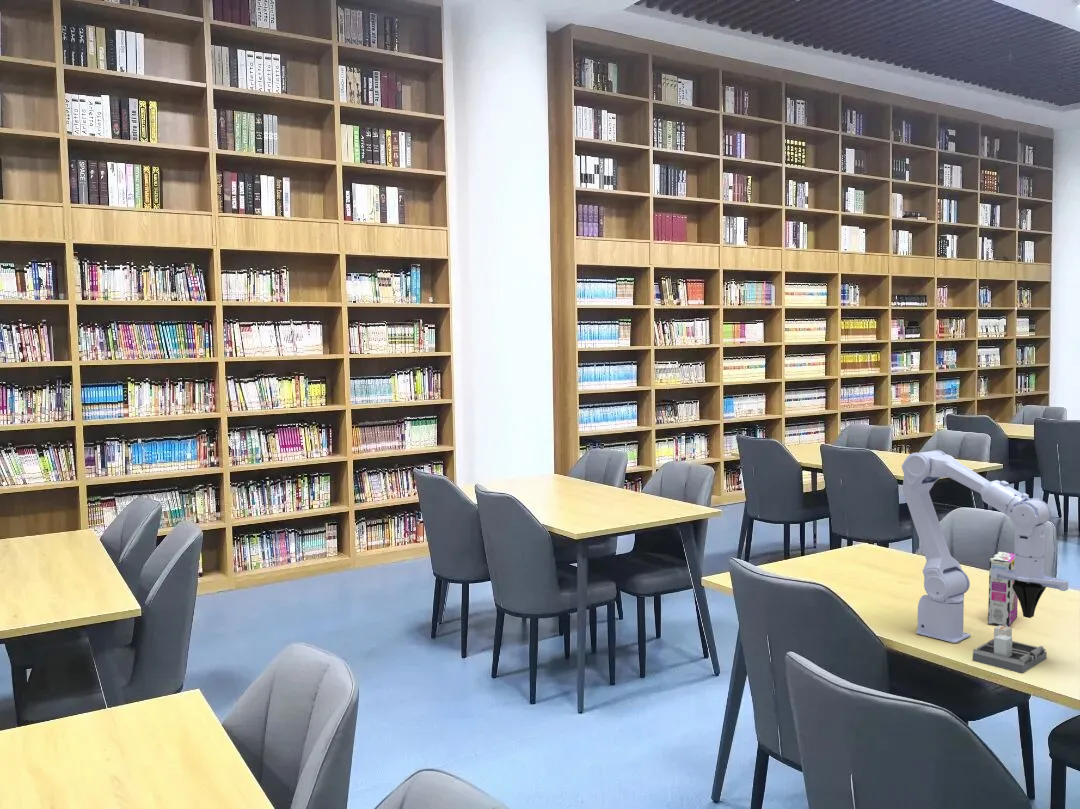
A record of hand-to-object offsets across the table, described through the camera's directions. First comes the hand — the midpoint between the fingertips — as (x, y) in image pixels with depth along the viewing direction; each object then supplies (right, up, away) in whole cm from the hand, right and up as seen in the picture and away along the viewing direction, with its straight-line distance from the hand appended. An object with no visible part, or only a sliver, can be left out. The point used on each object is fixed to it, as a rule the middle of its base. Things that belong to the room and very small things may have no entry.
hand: (1028, 616), depth 180 cm
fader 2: (-7, -8, -2) cm, 11 cm away
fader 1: (-3, -8, +4) cm, 9 cm away
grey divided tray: (-4, -9, 0) cm, 10 cm away
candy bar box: (+9, -8, +27) cm, 29 cm away
